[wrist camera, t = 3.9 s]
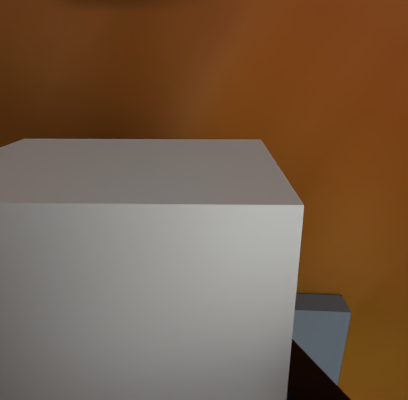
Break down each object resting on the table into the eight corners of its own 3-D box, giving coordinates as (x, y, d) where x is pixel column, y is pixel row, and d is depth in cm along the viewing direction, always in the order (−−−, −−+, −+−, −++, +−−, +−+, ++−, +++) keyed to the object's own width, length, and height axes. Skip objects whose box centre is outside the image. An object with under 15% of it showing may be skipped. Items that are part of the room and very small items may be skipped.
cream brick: (260, 139, 8) (303, 204, 4) (246, 426, 11) (266, 626, 7) (23, 138, 8) (-145, 201, 4) (68, 422, 11) (-11, 617, 7)
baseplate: (341, 295, 20) (351, 312, 19) (312, 457, 24) (319, 481, 23) (116, 286, 20) (109, 302, 19) (124, 449, 24) (119, 473, 23)
